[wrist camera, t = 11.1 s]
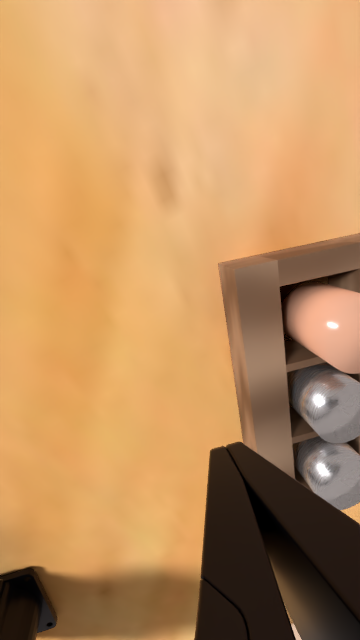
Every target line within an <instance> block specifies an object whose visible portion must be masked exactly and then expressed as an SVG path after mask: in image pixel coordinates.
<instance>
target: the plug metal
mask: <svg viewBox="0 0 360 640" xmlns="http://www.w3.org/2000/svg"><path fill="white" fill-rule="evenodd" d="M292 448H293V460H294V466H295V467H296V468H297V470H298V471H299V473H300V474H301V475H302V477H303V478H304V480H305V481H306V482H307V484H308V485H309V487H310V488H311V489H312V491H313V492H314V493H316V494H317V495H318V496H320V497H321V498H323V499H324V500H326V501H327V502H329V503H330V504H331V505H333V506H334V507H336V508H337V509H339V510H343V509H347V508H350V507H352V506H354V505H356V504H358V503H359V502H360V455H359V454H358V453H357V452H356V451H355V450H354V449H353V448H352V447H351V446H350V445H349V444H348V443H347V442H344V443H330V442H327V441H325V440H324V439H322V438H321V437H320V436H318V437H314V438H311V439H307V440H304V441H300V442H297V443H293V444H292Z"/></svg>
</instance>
